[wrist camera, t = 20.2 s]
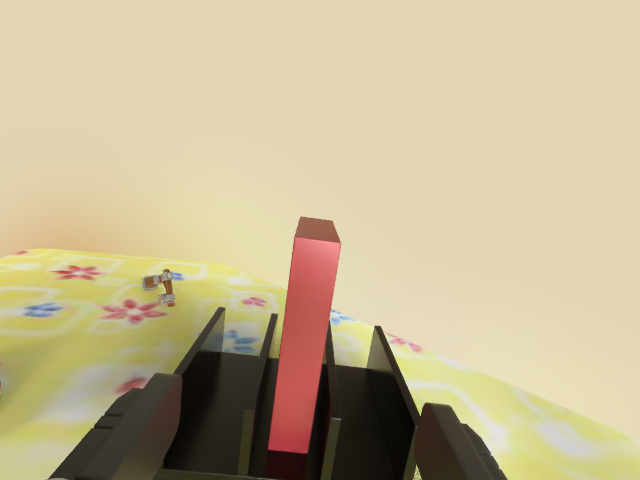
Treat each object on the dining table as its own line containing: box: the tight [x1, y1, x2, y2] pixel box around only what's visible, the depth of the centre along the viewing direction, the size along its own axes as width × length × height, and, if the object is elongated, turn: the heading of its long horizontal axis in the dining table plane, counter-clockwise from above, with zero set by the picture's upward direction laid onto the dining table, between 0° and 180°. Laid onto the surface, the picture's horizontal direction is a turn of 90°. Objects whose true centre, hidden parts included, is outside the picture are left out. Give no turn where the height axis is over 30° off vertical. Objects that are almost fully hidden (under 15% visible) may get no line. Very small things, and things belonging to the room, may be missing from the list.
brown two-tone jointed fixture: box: [142, 269, 175, 307], centre depth 40 cm, size 2×8×4 cm, turn 45°
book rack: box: [152, 307, 420, 480], centre depth 24 cm, size 16×12×6 cm
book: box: [268, 217, 341, 454], centre depth 23 cm, size 3×8×14 cm, turn 1°
